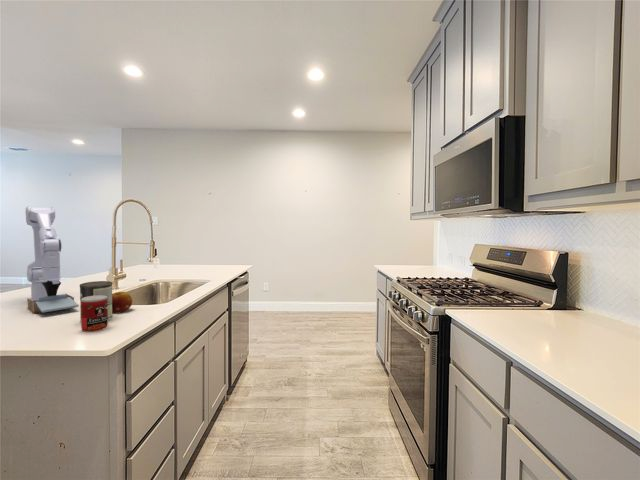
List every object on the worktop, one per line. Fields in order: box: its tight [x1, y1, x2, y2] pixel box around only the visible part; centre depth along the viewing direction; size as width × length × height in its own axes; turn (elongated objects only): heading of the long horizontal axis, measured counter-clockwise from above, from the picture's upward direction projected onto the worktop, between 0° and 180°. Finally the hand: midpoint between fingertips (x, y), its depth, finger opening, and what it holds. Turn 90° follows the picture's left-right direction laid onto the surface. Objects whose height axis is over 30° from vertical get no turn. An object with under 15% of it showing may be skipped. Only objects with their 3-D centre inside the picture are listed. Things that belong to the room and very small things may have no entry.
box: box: [27, 293, 75, 315], centre depth 134 cm, size 12×13×4 cm
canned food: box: [80, 295, 109, 333], centre depth 110 cm, size 8×8×11 cm
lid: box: [35, 293, 80, 314], centre depth 129 cm, size 12×12×2 cm
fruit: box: [112, 291, 133, 313], centre depth 132 cm, size 10×9×8 cm
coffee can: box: [79, 280, 113, 323], centre depth 120 cm, size 10×10×14 cm
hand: (51, 298), depth 133 cm, fingers closed
